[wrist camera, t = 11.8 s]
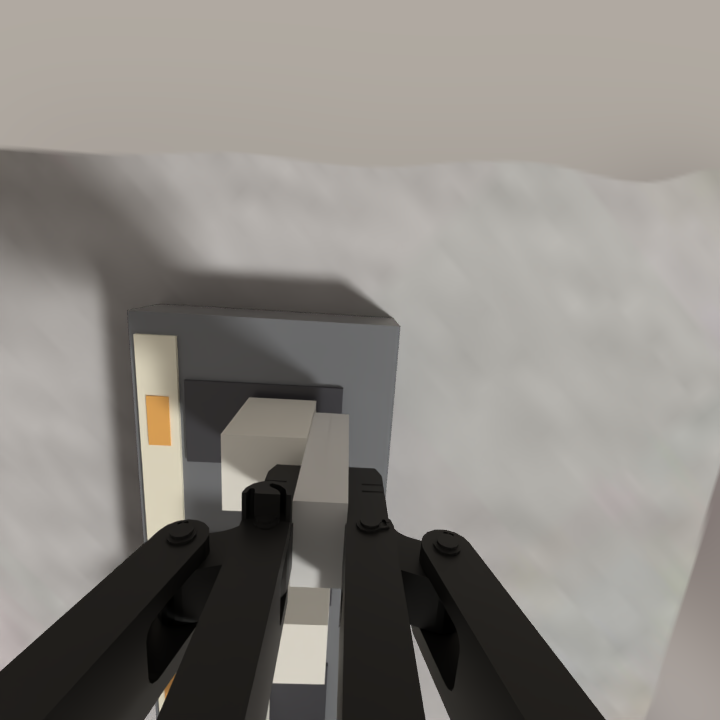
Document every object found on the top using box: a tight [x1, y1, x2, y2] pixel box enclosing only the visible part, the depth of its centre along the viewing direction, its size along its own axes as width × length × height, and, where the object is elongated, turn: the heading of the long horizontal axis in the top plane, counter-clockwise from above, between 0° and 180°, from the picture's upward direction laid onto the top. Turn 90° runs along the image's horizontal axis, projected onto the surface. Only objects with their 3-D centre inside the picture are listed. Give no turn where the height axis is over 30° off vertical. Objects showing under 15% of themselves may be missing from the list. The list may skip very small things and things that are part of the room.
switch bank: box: [127, 304, 400, 720], centre depth 22 cm, size 26×12×3 cm, turn 176°
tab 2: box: [273, 579, 330, 684], centre depth 18 cm, size 3×3×4 cm
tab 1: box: [221, 397, 316, 511], centre depth 16 cm, size 3×3×4 cm
